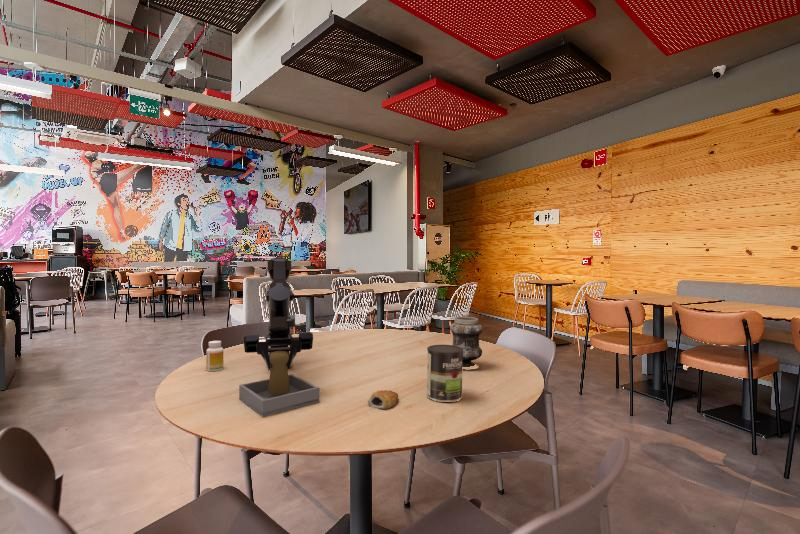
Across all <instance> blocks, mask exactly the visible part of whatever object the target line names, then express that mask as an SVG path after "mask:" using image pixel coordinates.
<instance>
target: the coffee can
mask: <svg viewBox="0 0 800 534" xmlns="http://www.w3.org/2000/svg"><path fill="white" fill-rule="evenodd" d="M462 364H463V348H461V347H458V346H454V345H453V344H434V345H432V344H431V345H429V346H427V371H426V372H427V373H426V375H427V376H426V378H427V379H426V380H427V381H426V383H427V384H426V398H428V399H429V398H430V399H432V400H431V401H433V400H434V401H433V402H436V401H438V402H437V403H442V402H452V403H455V402H454V401H457V400H459V399H460V398H461V397H462V398H463V370H462ZM430 399H429V400H430ZM457 402H458V401H457Z"/></svg>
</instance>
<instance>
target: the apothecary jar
mask: <svg viewBox="0 0 800 534" xmlns="http://www.w3.org/2000/svg"><path fill="white" fill-rule="evenodd" d="M483 329H484V328H483V326H482V325H481V324H480V322H479V318H477V317H472V316H455V317H454V322H453V323H451V325H450V327H449V330H450V332H451V333H452V345H454V346H458V347H461V348H463V364H462V367H470V366H474V365H475V364H476V363H475V362H473V361H476V360H478V359H480V357H482V355H483V349H482V348H481V347H480V335H481V334H482V333H483Z"/></svg>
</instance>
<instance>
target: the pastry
mask: <svg viewBox="0 0 800 534" xmlns="http://www.w3.org/2000/svg"><path fill="white" fill-rule="evenodd" d="M398 401H399V393H397V392H395V391H393V390H390V389H389V390H377V391H375V392H373V393H372V394H371V396H370V397H369V399H368V400H367V405H368V406H369V407H371V408H374V409H381V410H389V409H391V408H392V407H394V406H395V405H396V404H397V403H398Z"/></svg>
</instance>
